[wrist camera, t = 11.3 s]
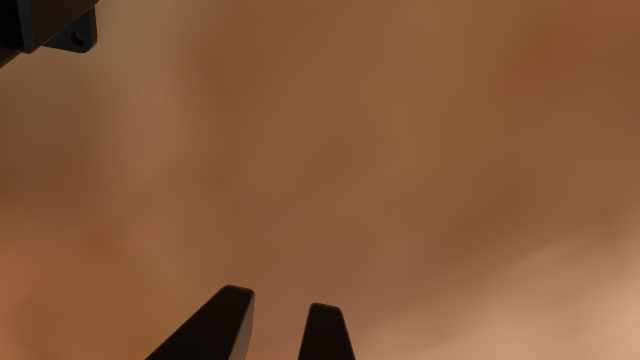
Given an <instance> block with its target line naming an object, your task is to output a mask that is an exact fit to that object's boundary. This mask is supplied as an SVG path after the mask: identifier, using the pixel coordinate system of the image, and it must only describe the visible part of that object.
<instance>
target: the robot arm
mask: <svg viewBox="0 0 640 360" xmlns="http://www.w3.org/2000/svg"><path fill="white" fill-rule="evenodd" d="M98 1H99V0H0V68H2V67H3V66H4V65H6V64H7V63H8V62H10V61H11V60H12V59H14V58H15V57H16V56H18V55H19V54H21V53H27V54H30V53H33V52H34V51H35V50H37V49H38V48H39V47H41V46H45V47H50V48H56V49H61V50H66V51H72V52H77V53H85V52H87V51H89V50H90V49H91V48H93V47H94V46H95V44H96V43H97V28H96V17H95V6H94V5H95V4H97V3H98ZM76 32H78V33H81V34H82V35H83V36H84V39H85V42H83V41H81V40H80V39H79V38H78V37H77V35H76ZM254 302H255V293H254V291H253V290H251V289H248V288H243V287H238V286H233V285H226V286H224V287H223V288H221V289H220V290H219V291H218V292H217V293H216V294H215V295H214V296H213V297H212V298H211V299H209V300H208V301H207V302H206V303H205V304H204V305H203V306H202V307H201V308H200V309H199V310H198V311H197V312H195V313H194V314H193V315H192V316H191V317H190V318H189V319H188V320H187V321H186V322H185V323H184V324H183V325H182V326H180V327H179V328H178V329H177V330H176V331H175V332H174V333H173V334H172V335H171V336H170V337H169V338H168V339H166V340H165V341H164V342H163V343H162V344H161V345H160V346H159V347H158V348H157V349H156V350H155V351H154V352H152V353H151V354H150V355H149V356H148V357H147V358H146V359H145V360H245V358H246V354H247V350H248V346H249V342H250V338H251V332H252V322H253V312H254ZM298 360H356V359H355V355H354V352H353V348H352V345H351V342H350V338H349V335H348V331H347V328H346V324H345V321H344V317H343V314H342V312H341V310H340V309H339V308H338V307H335V306H331V305H326V304H321V303H312V304H311V306H310V308H309V313H308V317H307V321H306V326H305V330H304V334H303V338H302V343H301V347H300V351H299V356H298Z"/></svg>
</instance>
